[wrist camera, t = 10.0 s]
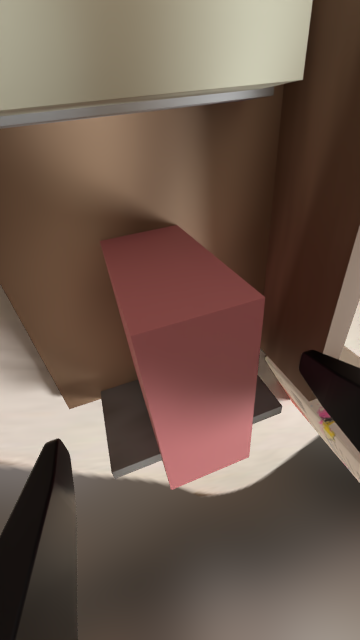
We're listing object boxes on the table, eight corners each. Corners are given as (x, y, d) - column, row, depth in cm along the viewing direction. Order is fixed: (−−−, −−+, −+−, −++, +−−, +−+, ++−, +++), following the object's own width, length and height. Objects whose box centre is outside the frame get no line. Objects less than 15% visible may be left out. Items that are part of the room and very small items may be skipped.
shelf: (305, -28, 10) (518, -169, 5) (265, 333, 20) (327, 394, 15) (-155, -26, 7) (-592, -343, 2) (69, 396, 17) (71, 496, 12)
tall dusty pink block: (177, 224, 12) (265, 297, 7) (190, 353, 17) (248, 457, 12) (99, 240, 12) (130, 336, 6) (135, 370, 16) (171, 489, 11)
